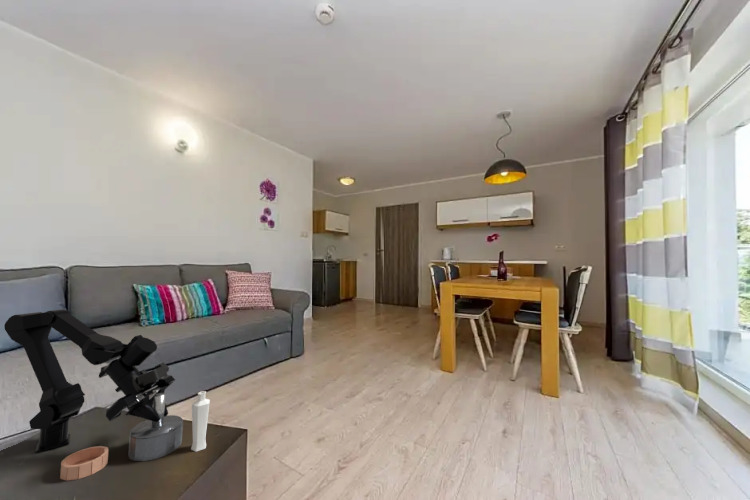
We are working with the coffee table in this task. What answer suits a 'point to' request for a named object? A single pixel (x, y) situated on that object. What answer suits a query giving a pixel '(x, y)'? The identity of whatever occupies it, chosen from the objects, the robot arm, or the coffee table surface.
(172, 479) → the coffee table surface
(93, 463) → the terracotta bowl
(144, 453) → the grey stemmed oval block
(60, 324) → the robot arm
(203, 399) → the perfume bottle
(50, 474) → the coffee table surface
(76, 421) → the coffee table surface
